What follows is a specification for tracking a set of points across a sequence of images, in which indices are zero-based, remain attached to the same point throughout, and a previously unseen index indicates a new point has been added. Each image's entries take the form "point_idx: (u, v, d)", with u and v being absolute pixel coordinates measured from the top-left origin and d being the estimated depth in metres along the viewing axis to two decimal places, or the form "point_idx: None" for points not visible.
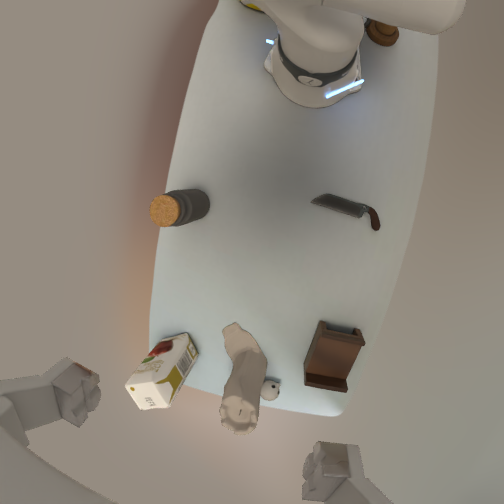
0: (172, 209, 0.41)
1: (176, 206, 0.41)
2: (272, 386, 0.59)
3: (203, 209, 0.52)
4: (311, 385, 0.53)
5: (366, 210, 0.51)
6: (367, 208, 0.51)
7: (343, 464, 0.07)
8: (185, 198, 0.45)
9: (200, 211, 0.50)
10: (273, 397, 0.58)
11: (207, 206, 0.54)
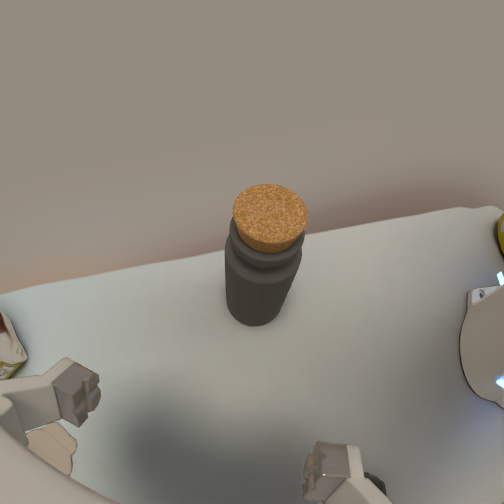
0: (285, 226, 0.18)
1: (296, 233, 0.18)
2: None
3: (264, 313, 0.26)
4: None
5: None
6: None
7: (343, 464, 0.07)
8: (296, 258, 0.21)
9: (263, 307, 0.25)
10: None
11: (265, 320, 0.28)
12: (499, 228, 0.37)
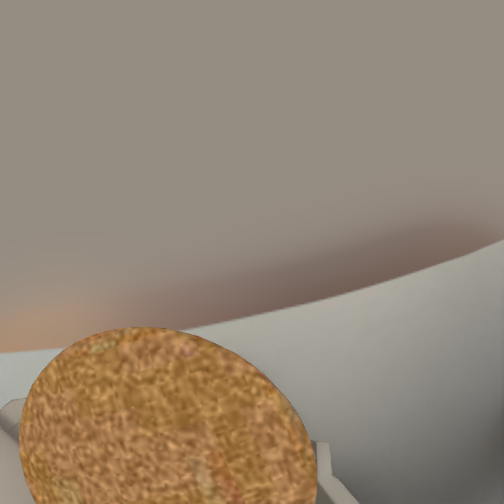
0: None
1: None
2: None
3: None
4: None
5: None
6: None
7: None
8: None
9: None
10: None
11: None
12: None
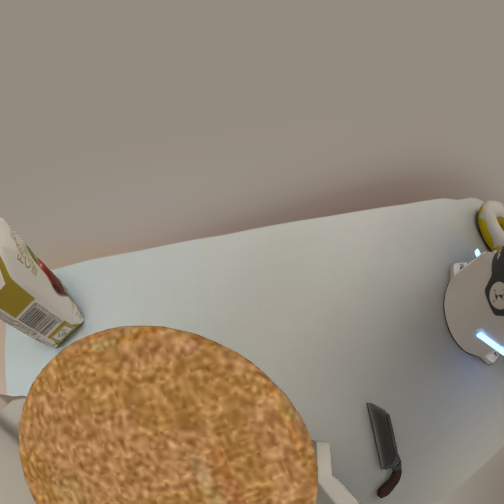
0: None
1: None
2: None
3: None
4: None
5: (395, 468, 0.26)
6: (398, 467, 0.26)
7: None
8: None
9: None
10: None
11: None
12: (479, 215, 0.46)
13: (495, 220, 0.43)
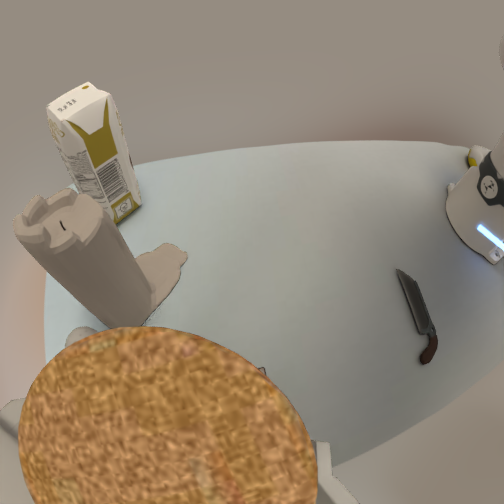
0: None
1: None
2: None
3: None
4: None
5: (431, 333, 0.33)
6: (433, 333, 0.33)
7: None
8: None
9: None
10: None
11: None
12: (468, 156, 0.54)
13: (482, 157, 0.50)
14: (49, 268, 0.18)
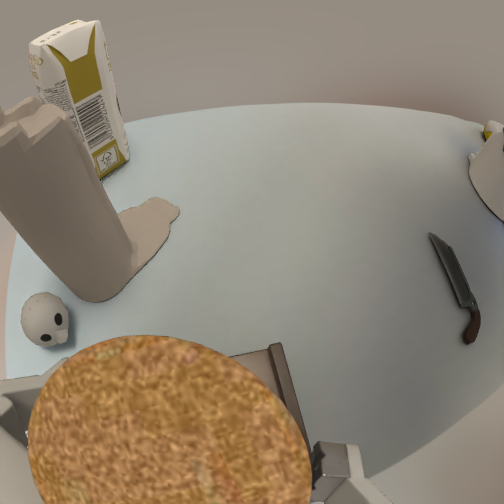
0: None
1: None
2: (58, 316, 0.20)
3: None
4: None
5: (473, 307, 0.25)
6: (475, 307, 0.25)
7: (343, 464, 0.07)
8: None
9: None
10: (31, 323, 0.18)
11: None
12: (485, 130, 0.46)
13: (499, 131, 0.43)
14: None
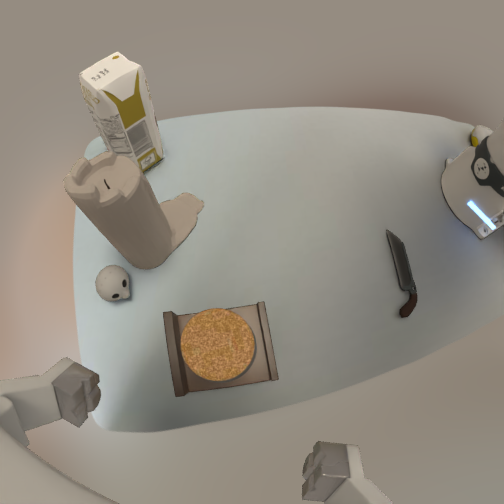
0: (229, 364, 0.17)
1: (239, 372, 0.17)
2: (124, 281, 0.35)
3: None
4: (167, 324, 0.29)
5: (412, 291, 0.40)
6: (414, 291, 0.40)
7: (343, 464, 0.07)
8: None
9: None
10: (106, 287, 0.33)
11: None
12: (472, 134, 0.54)
13: None
14: (94, 217, 0.24)
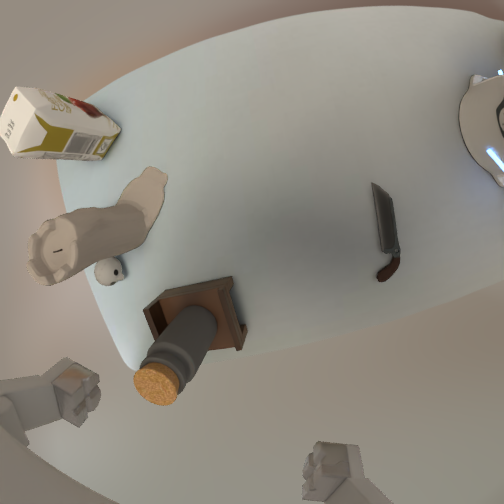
0: (164, 399, 0.26)
1: (170, 402, 0.26)
2: (115, 271, 0.41)
3: None
4: (147, 318, 0.37)
5: (394, 255, 0.38)
6: (397, 255, 0.38)
7: (343, 464, 0.07)
8: (190, 376, 0.29)
9: None
10: (103, 281, 0.41)
11: None
12: None
13: None
14: None
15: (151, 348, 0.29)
